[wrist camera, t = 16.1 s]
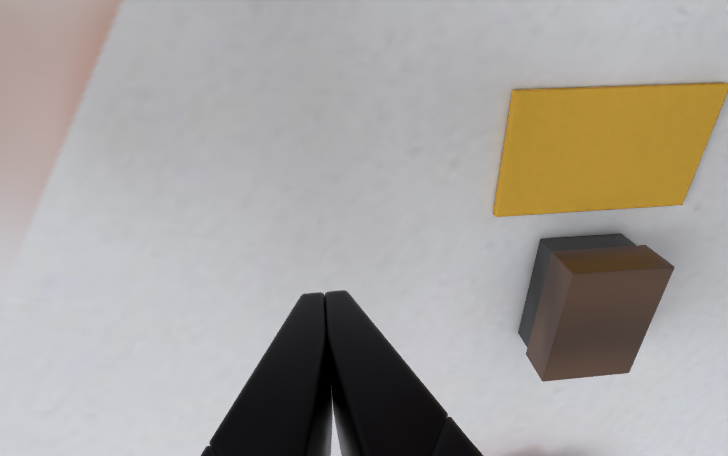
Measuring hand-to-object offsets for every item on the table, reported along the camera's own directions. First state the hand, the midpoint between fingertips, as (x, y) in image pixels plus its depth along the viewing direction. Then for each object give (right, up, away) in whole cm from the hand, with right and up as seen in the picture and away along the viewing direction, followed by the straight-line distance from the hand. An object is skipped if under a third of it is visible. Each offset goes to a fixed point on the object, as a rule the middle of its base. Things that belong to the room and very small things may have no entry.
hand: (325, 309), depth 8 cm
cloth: (+12, +5, +12) cm, 18 cm away
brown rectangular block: (+12, -2, +16) cm, 20 cm away
